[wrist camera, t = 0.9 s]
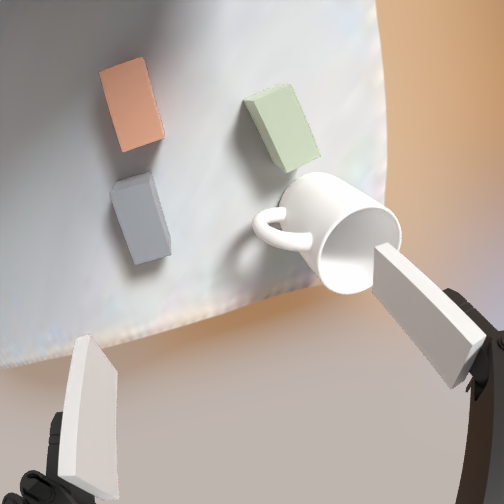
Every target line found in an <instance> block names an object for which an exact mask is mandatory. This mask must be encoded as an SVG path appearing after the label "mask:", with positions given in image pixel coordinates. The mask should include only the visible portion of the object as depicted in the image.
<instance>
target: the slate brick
mask: <svg viewBox="0 0 504 504" xmlns="http://www.w3.org/2000/svg"><path fill="white" fill-rule="evenodd" d="M109 195H110V198H111V201H112V204H113V207H114V209H115V212H116V215H117V218H118V221H119V224H120V226H121V229H122V232H123V235H124V237H125V240H126V243H127V245H128V248H129V251H130V253H131V256H132V258H133V261H134V263H135V265H138V264H141V263H145V262H148V261H152V260H155V259H159V258H163V257H166V256H170V255H171V239H170V234H169V231H168V227H167V224H166V221H165V218H164V214H163V211H162V207H161V204H160V201H159V197H158V194H157V190H156V187H155V183H154V179H153V176H152V172H151V171H148V172H145V173H142V174H138V175H135V176H132V177H128V178H125V179H122V180H119V181H116V182H115V184H114V186H113V188H112V190H111V192H110V194H109Z"/></svg>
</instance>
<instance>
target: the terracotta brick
mask: <svg viewBox="0 0 504 504" xmlns="http://www.w3.org/2000/svg"><path fill="white" fill-rule="evenodd" d="M99 75H100V79H101V82H102V86H103V90H104V93H105V97H106V101H107V104H108V107H109V111H110V114H111V118H112V121H113V124H114V128H115V131H116V134H117V137H118V140H119V143H120V147H121V150H122V153H123V152H126V151H129V150H132V149H134V148H137V147H140V146H143V145H146V144H149V143H152V142H155V141H158V140H161V139H164V136H165V132H164V128H163V125H162V121H161V118H160V114H159V111H158V107H157V103H156V100H155V96H154V92H153V89H152V85H151V81H150V78H149V74H148V70H147V66H146V62H145V60H144V59H143V57H139V58H136V59H133V60H130V61H127V62H124V63H121V64H118V65H116V66H113V67H110V68H108V69H105V70H103V71H100V72H99Z"/></svg>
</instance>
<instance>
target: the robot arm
mask: <svg viewBox="0 0 504 504" xmlns="http://www.w3.org/2000/svg"><path fill="white" fill-rule="evenodd" d="M372 293H373V294H374V296H375V297H376V298H377V299H378V300H379V301H380V303H381V304H382V305H383V306H384V307H385V308H386V310H387V311H388V312H389V313H390V314H391V315H392V317H393V318H394V319H395V320H396V321H397V323H398V324H399V325H400V326H401V327H402V329H403V330H404V331H405V332H406V334H407V335H408V336H409V337H410V338H411V340H412V341H413V342H414V343H415V345H416V346H417V347H418V348H419V350H420V351H421V352H422V353H423V355H424V356H425V357H426V358H427V360H428V361H429V362H430V363H431V365H432V366H433V367H434V368H435V370H436V371H437V372H438V373H439V375H440V376H441V377H442V379H443V380H444V381H445V383H446V384H447V385H448V386H449V388H450V389H452V388H454V387H456V386H457V385H458V384H460V383H461V382H463V381H464V380H465V378H466V376H467V375H468V373H469V372H470V373H471V375H472V376H473V377H472V379H471V381H470V382H469V384H468V386H467V387H466V392H468V390H469V389H470V387H471V397H470V413H469V424H468V434H467V442H466V450H465V457H464V463H463V469H462V475H461V480H460V485H459V490H458V494H457V499H456V503H455V504H504V331H498V330H496V329H495V328H494V327H493V326H492V325H491V324H490V323H489V322H488V321H487V320H486V319H485V318H484V317H483V316H482V315H481V314H480V313H479V312H478V311H477V310H476V309H475V308H473V306H472V305H471V304H470V303H468V302H467V300H466V299H465V298H464V297H463V296H461V295H460V294H459V293H458V292H456V291H454V290H452V289H449V288H447V289H445V290H443V291H441V290H440V289H439V288H438V287H437V286H436V285H435V284H434V283H433V282H432V281H431V280H430V279H428V277H426V276H425V275H424V274H423V273H422V272H421V271H420V270H419V269H418V268H416V267H415V266H414V265H413V264H412V263H411V262H410V261H408V260H407V259H406V258H405V257H404V256H403V255H402V254H401V253H399V252H398V251H397V250H396V249H395V248H394V247H393V246H392V245H390V244H389V243H388V242H387V243H384V244H381V245H378V246H376V247H374V269H373V288H372ZM117 377H118V372H117V371H116V369H115V368H114V367H113V365H112V364H111V363H110V361H109V360H108V359H107V357H106V356H105V355H104V353H103V352H102V350H101V349H100V348H99V346H98V345H97V343H96V342H95V340H94V339H93V338H92V336H91V335H90V334H88V335H85V336H81V337H77V338H76V341H75V346H74V350H73V355H72V361H71V366H70V372H69V377H68V383H67V389H66V395H65V402H64V410H63V412H57V413H56V414H55V416H54V418H53V420H52V422H51V428H50V437H49V446H48V455H47V467H46V476H45V475H43V474H42V473H40V472H38V471H35V470H31V471H28V472H27V473H25V474H24V476H23V477H22V479H21V482H20V491H21V494H22V496H23V497H21V496H19V495H18V494H15V493H8V494H7V495H6V496H5V497H4V499H3V501H2V504H96V503H95V498H94V496H95V497H97V498H99V499H101V500H119V486H118V470H117V437H116V436H117V432H116V418H117V417H116V415H117V413H116V412H117V379H118V378H117Z"/></svg>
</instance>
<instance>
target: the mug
mask: <svg viewBox="0 0 504 504" xmlns="http://www.w3.org/2000/svg"><path fill="white" fill-rule="evenodd" d="M273 222H279V223H280V226H281V228H282V230H283V231H281V230H277V229H275V228H272V227H271V226H269V225H268V223H273ZM252 227H253V230H254V232H255V234H256V235H257V236H258V237H259V238H260V239H261V240H263V241H264V242H266V243H268V244H270V245H272V246H274V247H277V248H280V249H284V250H289V251H296V252H299V253H300V255H301V256H302V257H303V258H304V260H305V261H306V262H307V264H308V265H309V266H310V268H311V269H312V270H313V271H314V273H315V274H316V275H317V277H318V278H319V279H320V281H321V282H322V283H323V285H324V286H326V287H327V288H328V289H329V290H331V291H333V292H335V293H339V294H355V293H358V292H361V291H364V290H366V289H368V288H370V287H371V286H373V269H374V247H376V246H378V245H381V244H384V243H387V242H388V243H389V244H390V245H392V246H393V247H394V248H395V249H396V250H397V251H398V252H399V250H400V246H401V228H400V225H399V222H398V220H397V218H396V216H395V215H394V214H393V213H392V212H391V211H390V210H389V209H387V208H386V207H384V206H383V205H381V204H380V203H378V202H376V201H375V200H373V199H372V198H370V197H368V196H367V195H365V194H364V193H362V192H360V191H359V190H357V189H355V188H354V187H352V186H350V185H349V184H347V183H345V182H344V181H342V180H340V179H339V178H337V177H335V176H333V175H330V174H327V173H321V172H315V173H309V174H306V175H304V176H301V177H300V178H298V179H296V180H295V181H294V182H293V183H291V184H290V185H289V187H288V188H287V189H286V191H285V192H284V194H283V196H282V198H281V201H280V203H279V207H276V208H269V209H265V210H263V211H260V212H259V213H257V214H256V216H255V217H254V218H253V221H252Z"/></svg>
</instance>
